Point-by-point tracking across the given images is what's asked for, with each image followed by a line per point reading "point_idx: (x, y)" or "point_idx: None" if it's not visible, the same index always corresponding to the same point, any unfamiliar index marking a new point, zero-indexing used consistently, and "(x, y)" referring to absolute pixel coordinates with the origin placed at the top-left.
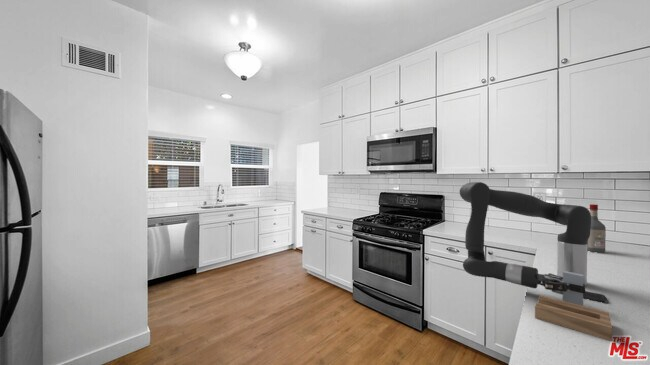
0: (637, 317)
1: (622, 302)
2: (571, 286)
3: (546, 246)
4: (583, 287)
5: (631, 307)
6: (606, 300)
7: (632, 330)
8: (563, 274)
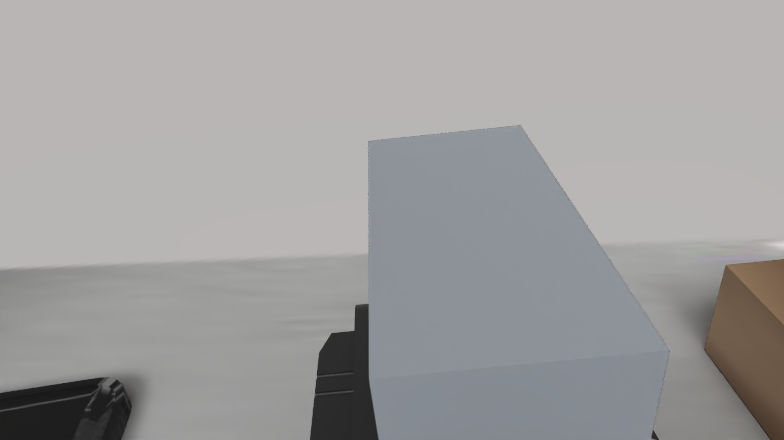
0: (337, 272)
1: (34, 333)
2: (652, 432)
3: None
4: None
5: (133, 298)
6: (92, 384)
7: (643, 271)
8: (645, 402)
